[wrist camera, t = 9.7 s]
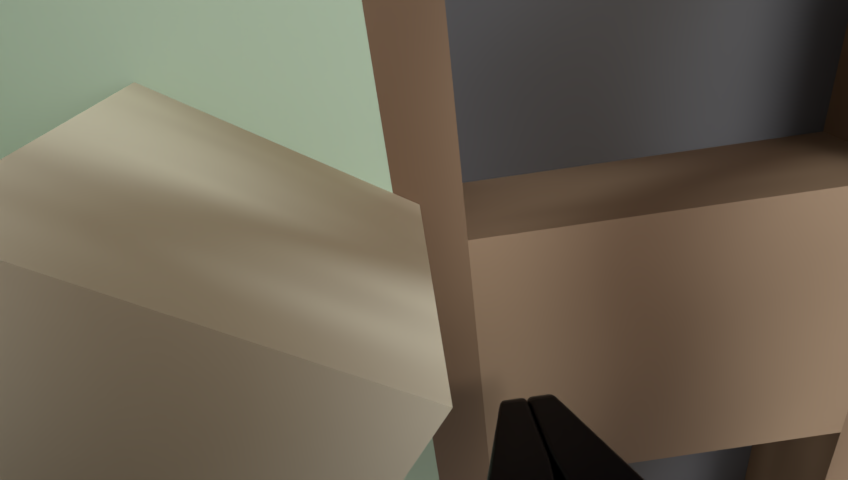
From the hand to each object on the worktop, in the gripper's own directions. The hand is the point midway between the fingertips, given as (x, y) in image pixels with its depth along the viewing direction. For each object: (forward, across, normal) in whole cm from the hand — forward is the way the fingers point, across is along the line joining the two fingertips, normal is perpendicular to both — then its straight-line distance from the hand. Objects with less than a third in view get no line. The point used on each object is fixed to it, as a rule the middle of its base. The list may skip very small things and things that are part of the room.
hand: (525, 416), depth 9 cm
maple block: (+1, +4, -3) cm, 5 cm away
